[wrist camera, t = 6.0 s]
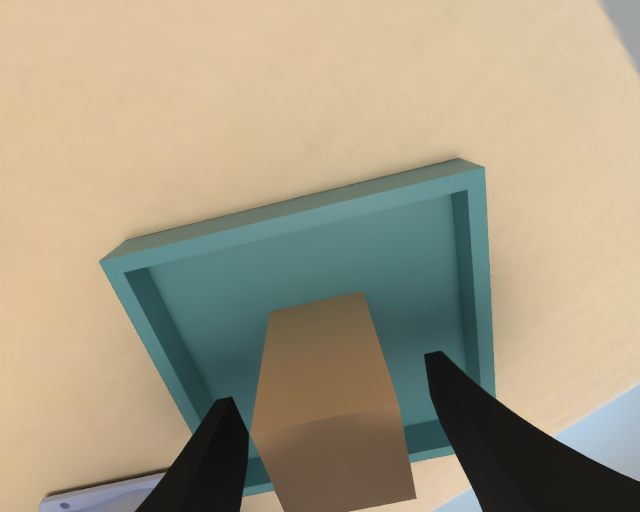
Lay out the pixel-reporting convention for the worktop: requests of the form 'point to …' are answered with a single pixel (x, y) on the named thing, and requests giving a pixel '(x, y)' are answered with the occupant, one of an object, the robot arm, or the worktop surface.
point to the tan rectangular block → (329, 410)
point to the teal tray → (319, 290)
